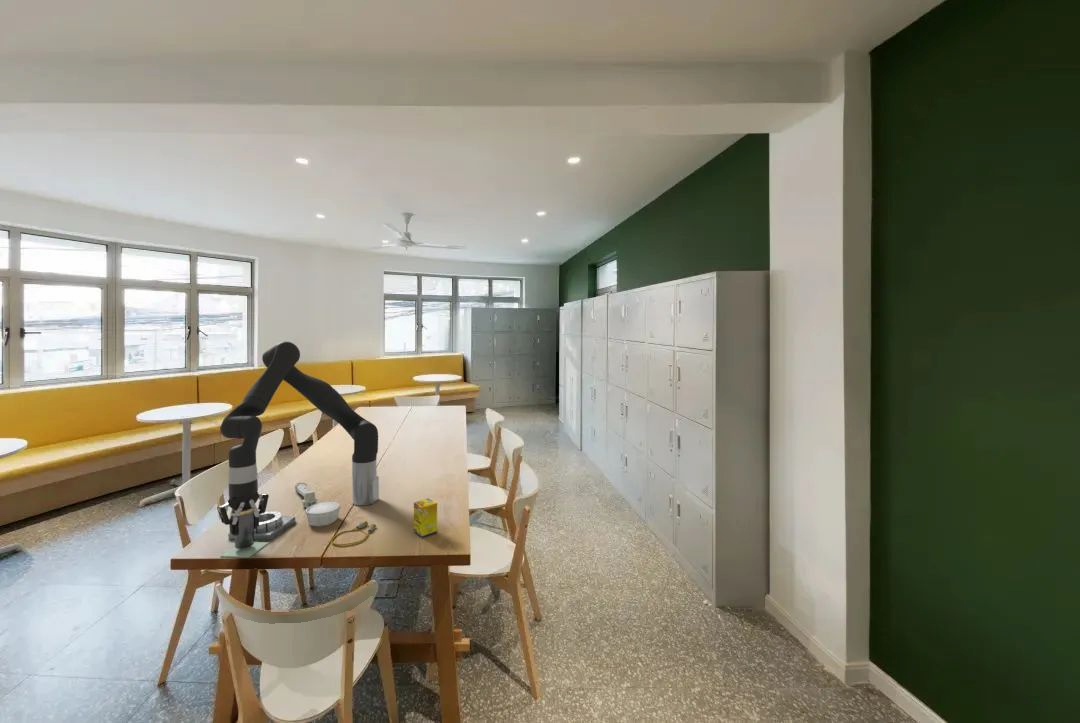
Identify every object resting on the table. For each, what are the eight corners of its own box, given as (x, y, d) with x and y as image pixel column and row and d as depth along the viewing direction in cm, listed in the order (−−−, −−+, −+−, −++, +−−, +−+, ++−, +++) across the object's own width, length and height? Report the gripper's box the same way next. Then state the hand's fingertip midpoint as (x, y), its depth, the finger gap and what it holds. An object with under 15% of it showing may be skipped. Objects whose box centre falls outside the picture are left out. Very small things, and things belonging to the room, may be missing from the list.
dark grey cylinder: (249, 539, 138) (249, 503, 137) (257, 543, 136) (257, 507, 135) (231, 545, 134) (231, 508, 133) (239, 550, 131) (239, 513, 130)
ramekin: (303, 519, 157) (303, 505, 157) (336, 512, 164) (336, 499, 164) (308, 531, 148) (308, 516, 148) (343, 522, 155) (343, 508, 155)
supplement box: (413, 532, 148) (413, 502, 147) (428, 527, 152) (428, 497, 152) (421, 538, 144) (421, 507, 143) (437, 533, 148) (437, 502, 147)
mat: (268, 543, 139) (268, 542, 139) (249, 557, 130) (249, 556, 130) (241, 542, 139) (241, 541, 139) (220, 556, 130) (220, 555, 130)
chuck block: (295, 522, 155) (295, 510, 155) (269, 540, 141) (269, 527, 141) (257, 520, 155) (257, 509, 155) (228, 539, 142) (228, 526, 141)
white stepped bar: (306, 480, 188) (318, 489, 168) (307, 495, 188) (319, 506, 168) (292, 483, 185) (303, 492, 165) (293, 498, 184) (304, 509, 165)
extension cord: (385, 535, 147) (385, 529, 147) (339, 552, 135) (339, 545, 135) (368, 524, 155) (368, 518, 155) (323, 539, 143) (323, 533, 143)
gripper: (261, 470, 141) (263, 520, 142) (210, 483, 129) (212, 537, 130) (273, 474, 137) (274, 526, 138) (222, 488, 125) (223, 544, 126)
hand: (244, 531), depth 134 cm, fingers closed on dark grey cylinder, 5 cm apart
